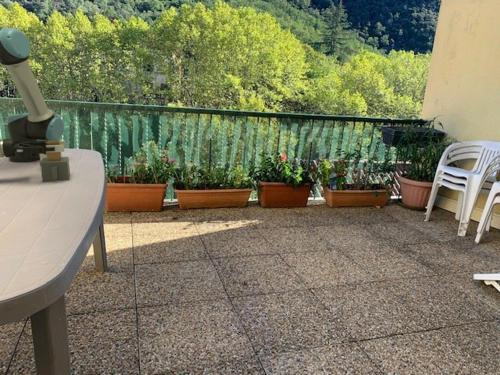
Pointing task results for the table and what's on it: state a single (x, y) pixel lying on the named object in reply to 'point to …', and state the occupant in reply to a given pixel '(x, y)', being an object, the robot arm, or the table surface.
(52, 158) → the plunger
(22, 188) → the table surface
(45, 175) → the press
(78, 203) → the table surface
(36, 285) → the table surface
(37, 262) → the table surface
